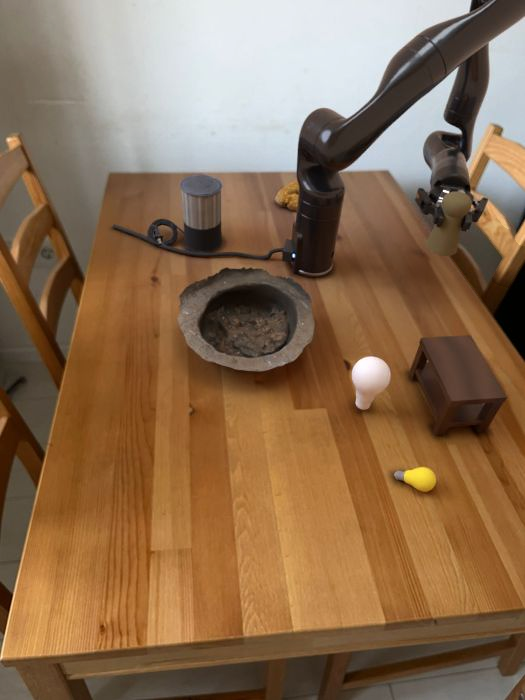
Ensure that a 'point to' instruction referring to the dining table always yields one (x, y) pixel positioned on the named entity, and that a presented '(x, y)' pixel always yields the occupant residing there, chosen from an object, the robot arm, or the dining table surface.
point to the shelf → (457, 382)
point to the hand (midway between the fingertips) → (452, 224)
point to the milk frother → (195, 216)
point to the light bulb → (418, 478)
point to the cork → (449, 224)
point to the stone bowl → (246, 319)
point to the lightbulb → (369, 380)
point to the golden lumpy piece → (288, 196)
